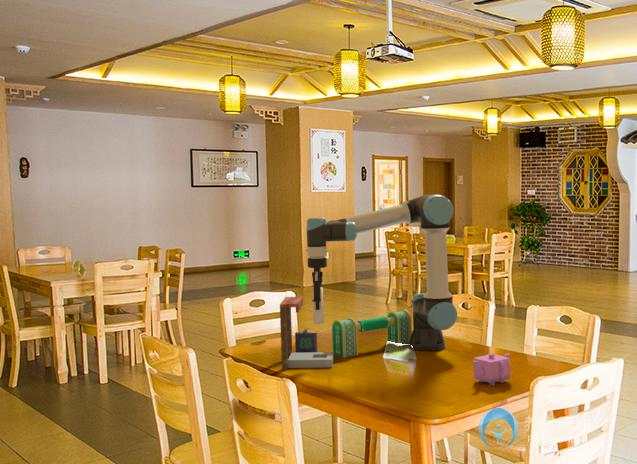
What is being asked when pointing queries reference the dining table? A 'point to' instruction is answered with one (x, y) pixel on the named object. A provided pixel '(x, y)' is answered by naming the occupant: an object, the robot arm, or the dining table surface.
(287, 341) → the curved red bench
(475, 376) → the pink square teapot
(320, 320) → the peg
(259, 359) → the dining table surface
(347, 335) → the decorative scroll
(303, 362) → the socket block
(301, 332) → the flask
